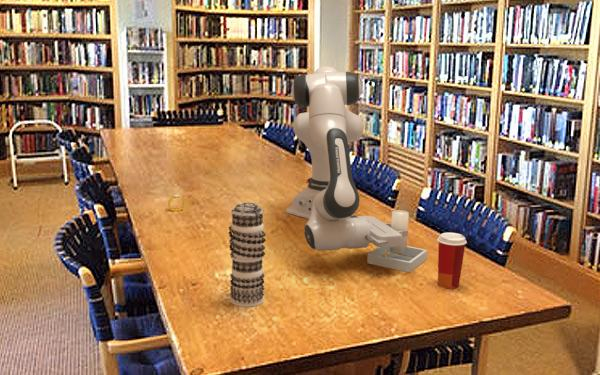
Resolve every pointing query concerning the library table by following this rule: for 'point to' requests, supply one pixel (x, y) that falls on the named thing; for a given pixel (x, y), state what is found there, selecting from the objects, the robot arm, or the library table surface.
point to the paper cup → (450, 259)
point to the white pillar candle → (400, 228)
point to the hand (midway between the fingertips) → (402, 229)
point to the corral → (398, 258)
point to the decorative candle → (247, 255)
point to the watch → (175, 197)
